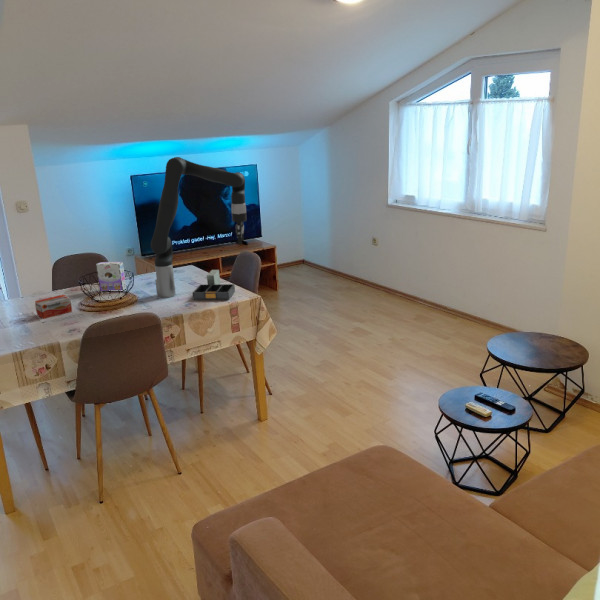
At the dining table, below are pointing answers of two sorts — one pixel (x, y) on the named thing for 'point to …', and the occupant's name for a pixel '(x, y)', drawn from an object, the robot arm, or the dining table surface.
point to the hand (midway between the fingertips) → (240, 242)
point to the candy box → (111, 276)
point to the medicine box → (53, 306)
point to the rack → (214, 292)
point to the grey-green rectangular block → (213, 277)
